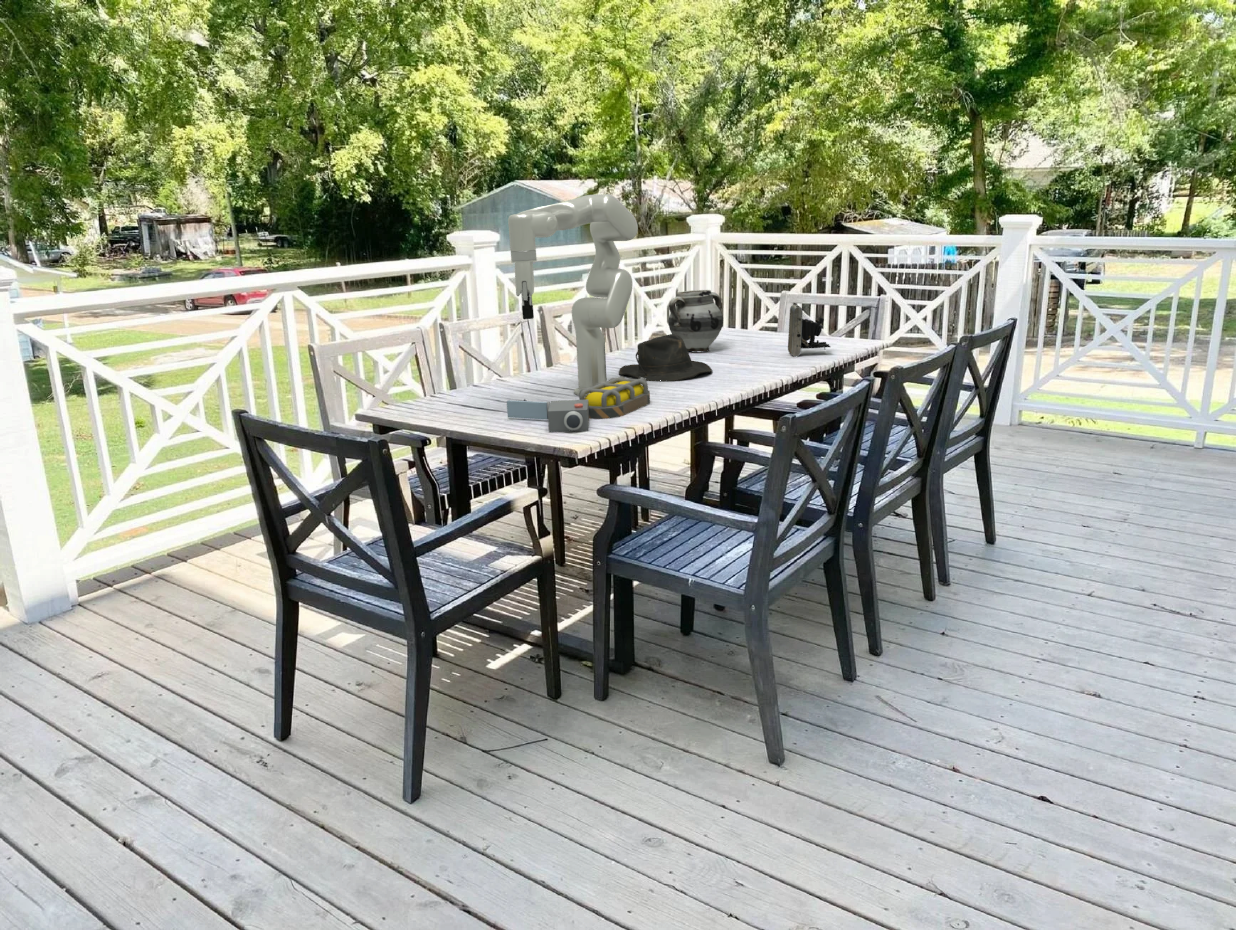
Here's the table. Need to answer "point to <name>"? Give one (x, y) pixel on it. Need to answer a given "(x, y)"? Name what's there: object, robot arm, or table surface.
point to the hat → (664, 361)
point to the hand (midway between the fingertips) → (528, 318)
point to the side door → (527, 409)
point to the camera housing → (568, 415)
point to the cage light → (616, 397)
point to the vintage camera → (803, 332)
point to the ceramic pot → (696, 318)
